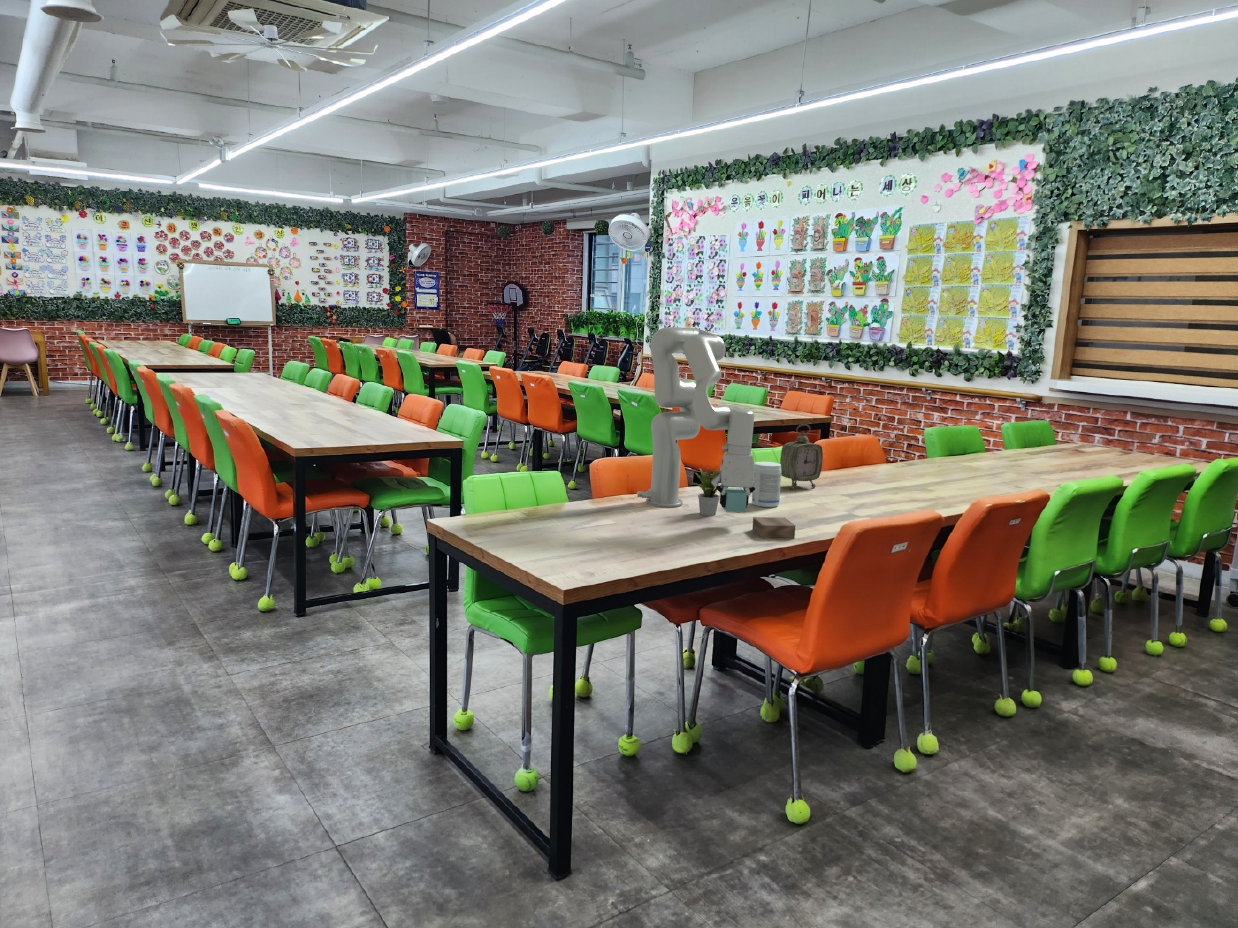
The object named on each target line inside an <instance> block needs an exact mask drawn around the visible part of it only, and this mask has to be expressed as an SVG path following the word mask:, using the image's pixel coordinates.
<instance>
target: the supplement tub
mask: <svg viewBox="0 0 1238 928" xmlns="http://www.w3.org/2000/svg"><path fill="white" fill-rule="evenodd" d="M754 477H755V478H756V479H757V480H758V481H759V483H760V486H759V487H757V488H756V489H755V490H754V491H753V492H752V493H751V494H752V495H751V502H752V504H753V505H754V506H757V507H760V508H761V507H763V508H775V507H778V506H779V505H780V497H781V484H782V483H781V481H782V474H781V464H780V462H773V461H754Z"/></svg>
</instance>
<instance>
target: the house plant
mask: <svg viewBox="0 0 1238 928" xmlns="http://www.w3.org/2000/svg"><path fill="white" fill-rule="evenodd" d="M699 471H700V474H698V473H697V472H695V471H693V473H695V474H696V476H697V478H698V479H699V480H700V482H701V483H696V482H691V483H690V485H694V486H697V487H699V488H700V489H701V490H702V491H703V493H699V494H698V495H697V496H698V497H697V498H698V506H699V514H700V515H701V514H702V516H706V517H712V516H713V517H714V516H716V514H717V511H718V506H719V503H720V494H716V493H718V490H717V489H716V488H715V487H714V486H713V484H712V483H711V481H712V480H713V479H714V478H715V477H716V476H717V475H718V474H719V473H720V469H718V466H716V467H715V469H714V471H713V472H712V474H711V471H710V467H709V465H707V470H705V471H704V470H703V469H702V468H701V467H699ZM717 484H718V485H719V486H720V487H721V486H722V484H721V483H720V482H719V481H718V482H717Z"/></svg>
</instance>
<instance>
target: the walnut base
mask: <svg viewBox="0 0 1238 928" xmlns="http://www.w3.org/2000/svg"><path fill="white" fill-rule="evenodd" d="M751 530H752V531H753V532H754V533H755V534H756V535H757V536H759V537H760V538H761V539H765V538H794V539H795V536H796V525H795V524H794V523H793V522H791V521H790V520H788V519H787V518H786V517H777V516H776V517H774V516H773V517H770V516H768V517H765V516H764V517H763V516H760V517H758V516H755V517H752V529H751Z"/></svg>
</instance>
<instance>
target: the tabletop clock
mask: <svg viewBox="0 0 1238 928" xmlns="http://www.w3.org/2000/svg"><path fill="white" fill-rule="evenodd" d="M804 426H805V427H807V428H808V431H807V432H805V431H801V432H798V429H799V428H800V427H804ZM795 431H796V432H795V433H797V434H798V436H797V437H796V439H795V441H789V442H787V443H785V444H783V445H782V447H781V451H780V457H779V464H781V477H784V478H786V479H791V485H790V486H789V488H790V490H794V489H795V487H797V485H798V483H797V482H810V484H811V486H810V487H811V488H812V489H815V487H816V484H815V483H814V482H813V481H816V480H818V478H820V475H821V473H822V467H823V458H824V457H823V456H824V453H823V447H822V445H820V444H817V443H813V442H810V440H809V438H808V436H807V435H808V434H810V432H811V426H810V425H809V424H806V423H802V424H799V425H798V426H797V427H796V429H795Z"/></svg>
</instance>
